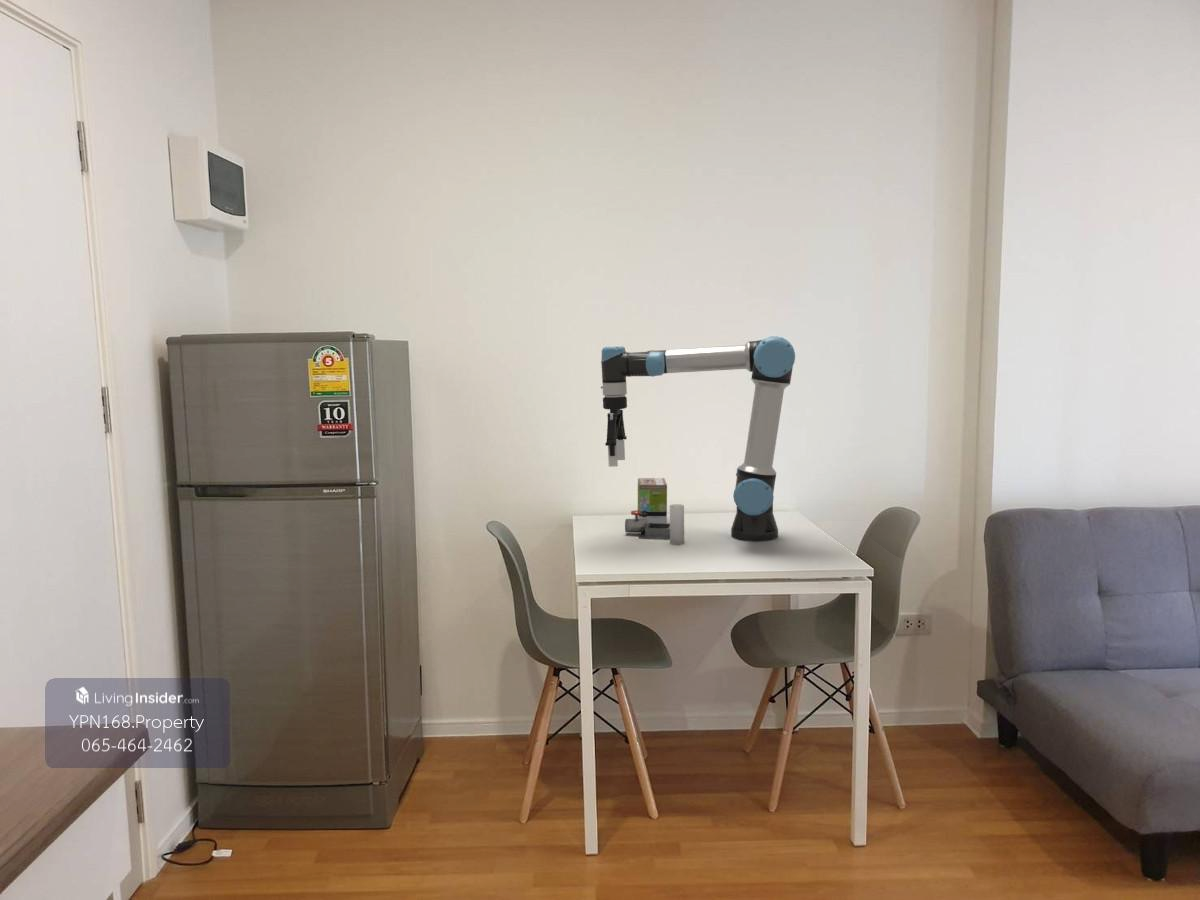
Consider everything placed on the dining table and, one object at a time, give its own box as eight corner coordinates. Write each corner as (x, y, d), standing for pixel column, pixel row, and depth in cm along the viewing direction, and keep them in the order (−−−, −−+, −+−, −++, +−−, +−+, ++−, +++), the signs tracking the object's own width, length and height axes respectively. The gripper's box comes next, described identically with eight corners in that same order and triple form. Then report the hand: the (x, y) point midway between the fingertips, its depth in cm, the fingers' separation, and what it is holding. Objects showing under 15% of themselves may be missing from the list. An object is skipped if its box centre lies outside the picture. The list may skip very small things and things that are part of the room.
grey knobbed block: (679, 531, 287) (679, 508, 286) (675, 539, 275) (675, 516, 274) (629, 529, 290) (628, 507, 289) (623, 538, 279) (622, 515, 278)
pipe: (684, 541, 273) (684, 504, 272) (683, 544, 269) (683, 507, 267) (670, 540, 274) (670, 504, 272) (669, 544, 270) (668, 506, 268)
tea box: (667, 526, 295) (667, 484, 293) (638, 526, 295) (638, 484, 293) (665, 516, 310) (664, 476, 308) (637, 517, 310) (636, 477, 308)
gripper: (610, 393, 281) (612, 457, 283) (595, 399, 256) (597, 469, 259) (632, 393, 279) (634, 457, 282) (619, 398, 255) (622, 469, 258)
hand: (617, 463), depth 271 cm, fingers open, 13 cm apart
